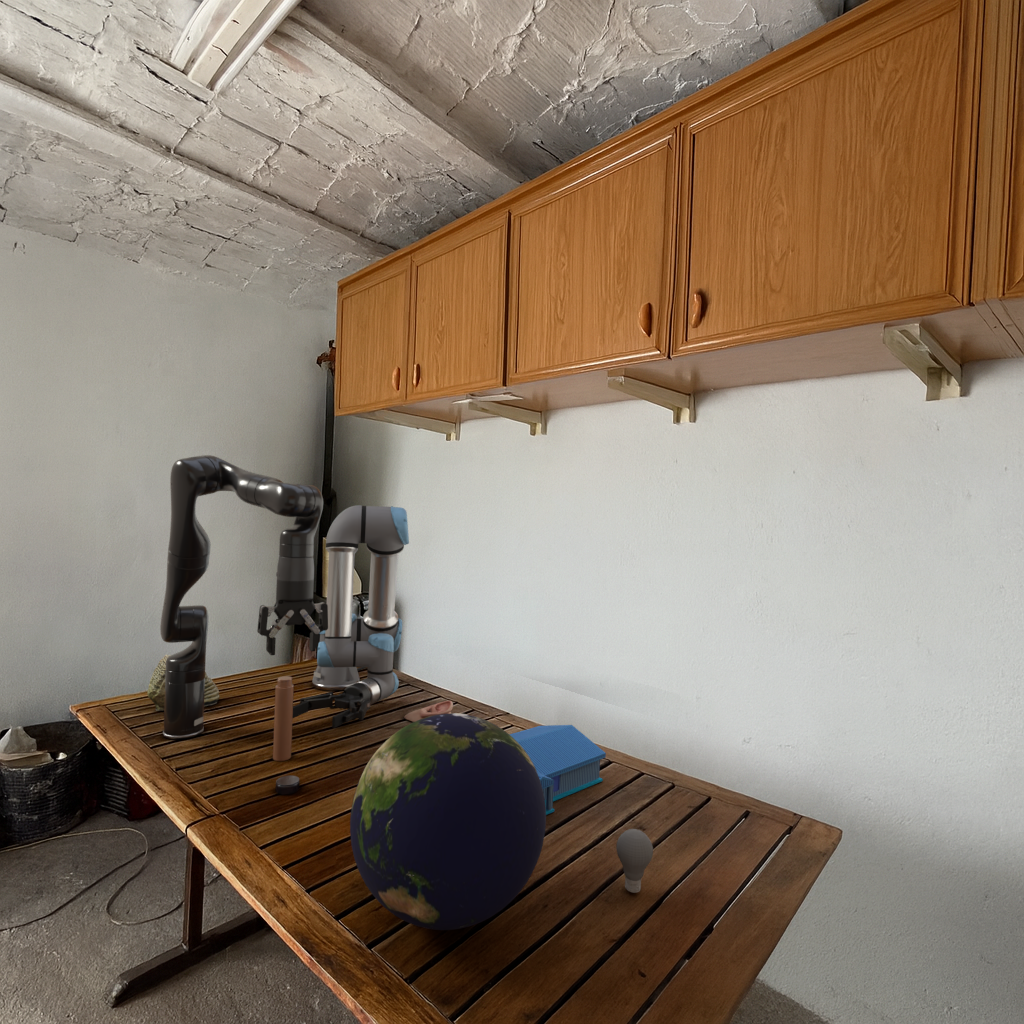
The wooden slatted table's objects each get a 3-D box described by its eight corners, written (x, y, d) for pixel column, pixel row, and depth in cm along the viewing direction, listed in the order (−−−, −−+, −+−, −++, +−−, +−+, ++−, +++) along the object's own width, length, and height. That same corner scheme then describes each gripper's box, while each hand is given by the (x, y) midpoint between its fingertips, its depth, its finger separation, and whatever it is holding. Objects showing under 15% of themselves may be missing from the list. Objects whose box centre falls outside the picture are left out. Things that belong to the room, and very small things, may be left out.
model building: (482, 842, 118) (484, 789, 118) (409, 793, 137) (411, 747, 136) (614, 785, 145) (616, 742, 145) (538, 751, 163) (540, 712, 163)
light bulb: (610, 879, 108) (613, 822, 108) (644, 879, 109) (647, 822, 109) (619, 902, 102) (622, 840, 102) (655, 901, 103) (658, 840, 103)
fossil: (144, 707, 182) (145, 655, 182) (212, 696, 194) (213, 647, 194) (151, 716, 175) (153, 662, 175) (221, 703, 188) (223, 653, 188)
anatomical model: (400, 707, 180) (414, 695, 191) (399, 721, 180) (414, 708, 191) (445, 712, 177) (456, 700, 189) (444, 726, 177) (456, 713, 189)
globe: (302, 941, 90) (310, 732, 90) (412, 840, 118) (419, 680, 117) (494, 1014, 79) (505, 776, 78) (565, 883, 107) (574, 707, 106)
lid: (295, 795, 134) (295, 785, 134) (272, 794, 134) (272, 784, 134) (301, 785, 139) (302, 775, 139) (279, 784, 139) (279, 774, 138)
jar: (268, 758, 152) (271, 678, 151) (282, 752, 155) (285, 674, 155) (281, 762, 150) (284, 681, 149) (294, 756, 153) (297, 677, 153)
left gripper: (265, 580, 128) (262, 660, 129) (334, 578, 136) (331, 653, 137) (256, 576, 134) (253, 652, 135) (322, 574, 143) (320, 645, 143)
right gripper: (397, 715, 178) (351, 741, 158) (324, 701, 187) (272, 724, 167) (398, 689, 177) (352, 711, 158) (325, 676, 187) (273, 695, 167)
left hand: (292, 652), depth 136 cm, fingers open, 8 cm apart
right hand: (311, 718), depth 162 cm, fingers open, 13 cm apart
